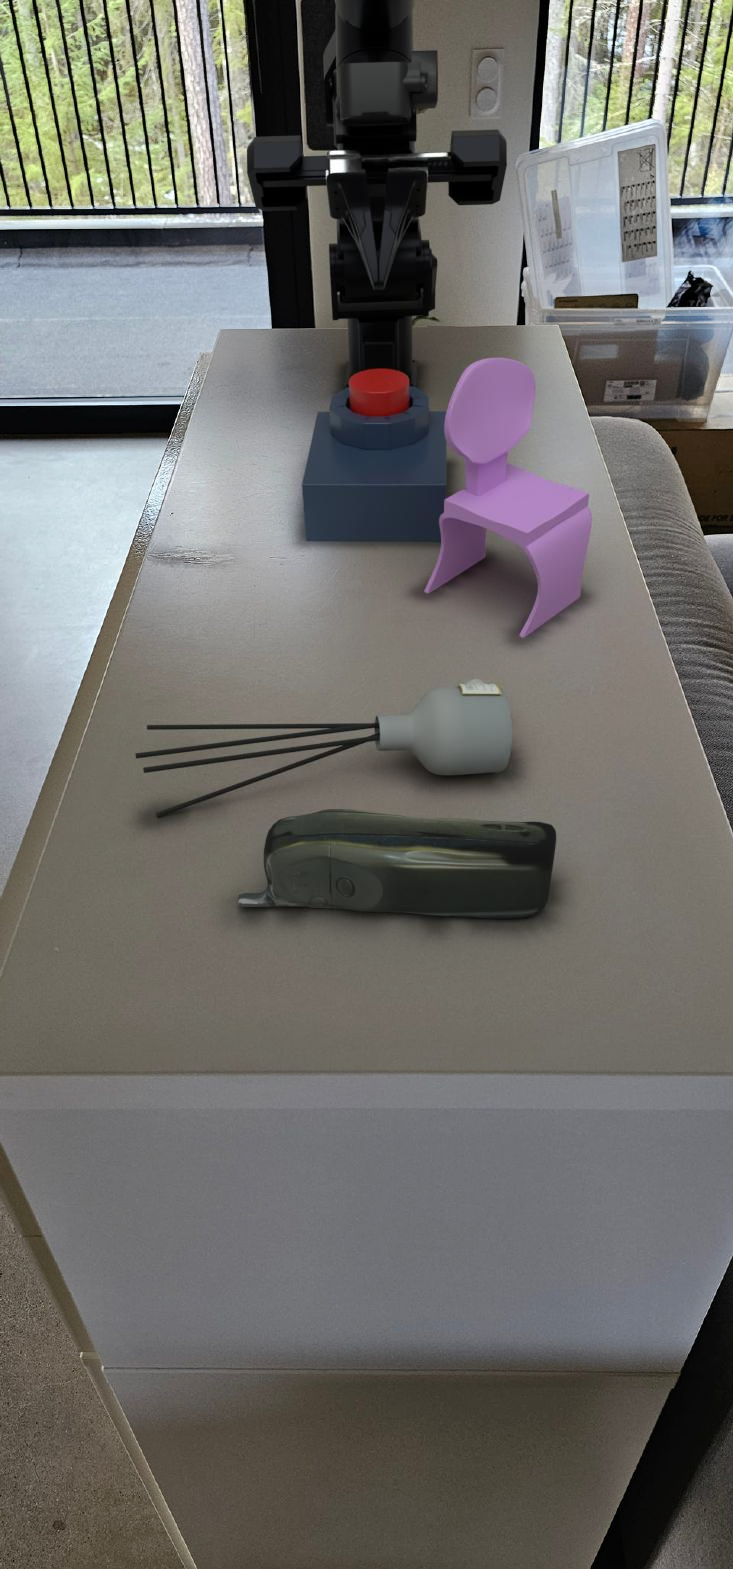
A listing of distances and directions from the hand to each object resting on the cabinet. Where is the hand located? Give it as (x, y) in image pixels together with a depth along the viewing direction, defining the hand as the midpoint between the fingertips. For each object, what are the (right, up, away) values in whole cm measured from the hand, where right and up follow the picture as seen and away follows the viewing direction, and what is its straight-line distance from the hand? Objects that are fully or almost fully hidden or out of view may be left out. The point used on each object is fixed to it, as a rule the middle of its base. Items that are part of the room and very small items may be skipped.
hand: (378, 287), depth 82 cm
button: (0, -9, 0) cm, 9 cm away
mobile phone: (0, -43, -28) cm, 51 cm away
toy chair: (+8, -25, -8) cm, 27 cm away
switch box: (0, -16, +2) cm, 16 cm away
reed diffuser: (-3, -37, -21) cm, 42 cm away
